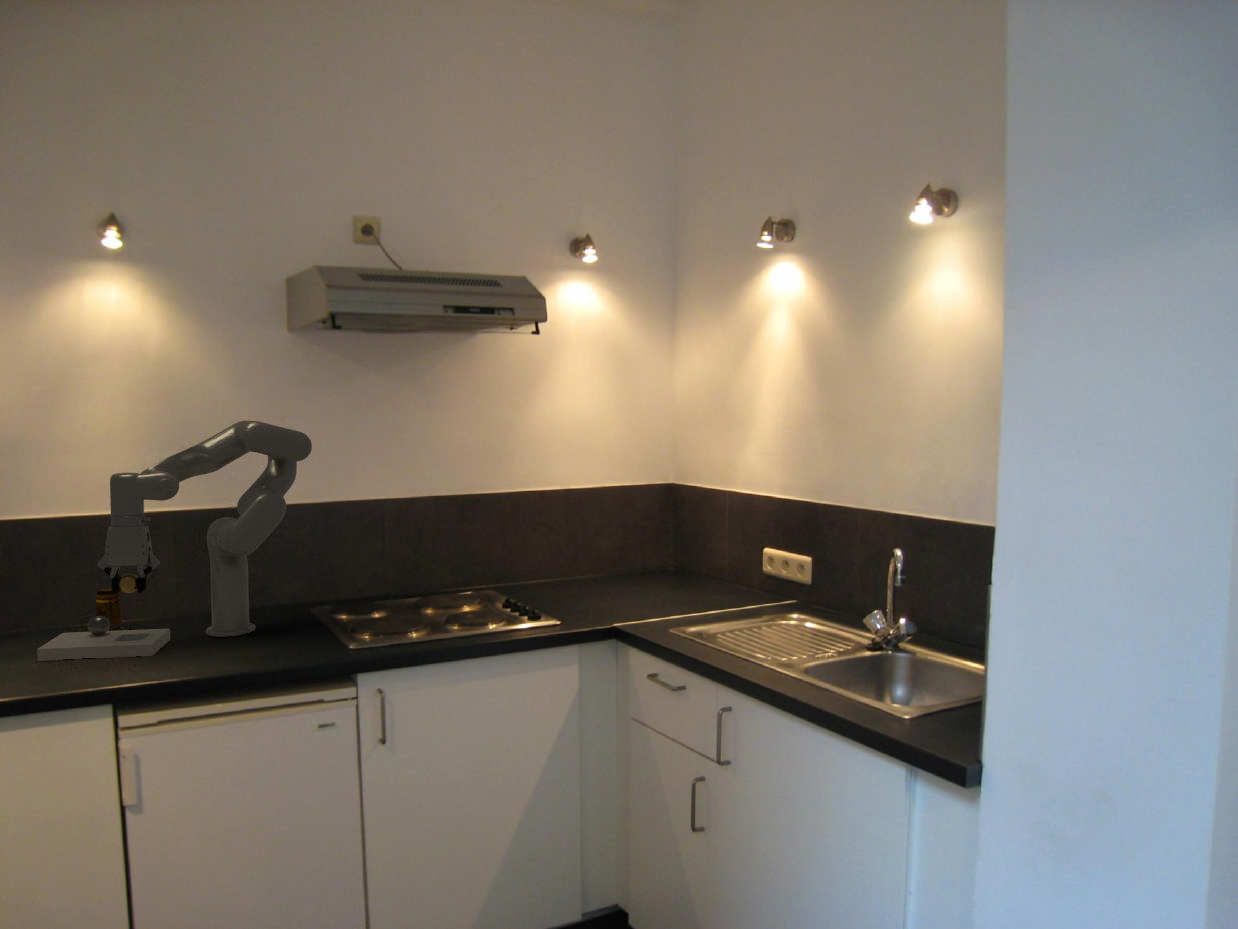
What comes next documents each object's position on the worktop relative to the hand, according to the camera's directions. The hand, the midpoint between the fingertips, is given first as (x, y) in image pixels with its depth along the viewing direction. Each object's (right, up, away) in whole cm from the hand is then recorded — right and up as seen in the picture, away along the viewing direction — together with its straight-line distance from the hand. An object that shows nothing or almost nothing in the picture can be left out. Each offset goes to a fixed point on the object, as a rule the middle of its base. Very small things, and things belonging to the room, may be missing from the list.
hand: (129, 591), depth 239 cm
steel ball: (-9, -9, +3) cm, 13 cm away
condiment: (-14, -14, +19) cm, 27 cm away
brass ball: (0, +2, 0) cm, 2 cm away
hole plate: (-6, -15, 0) cm, 16 cm away
